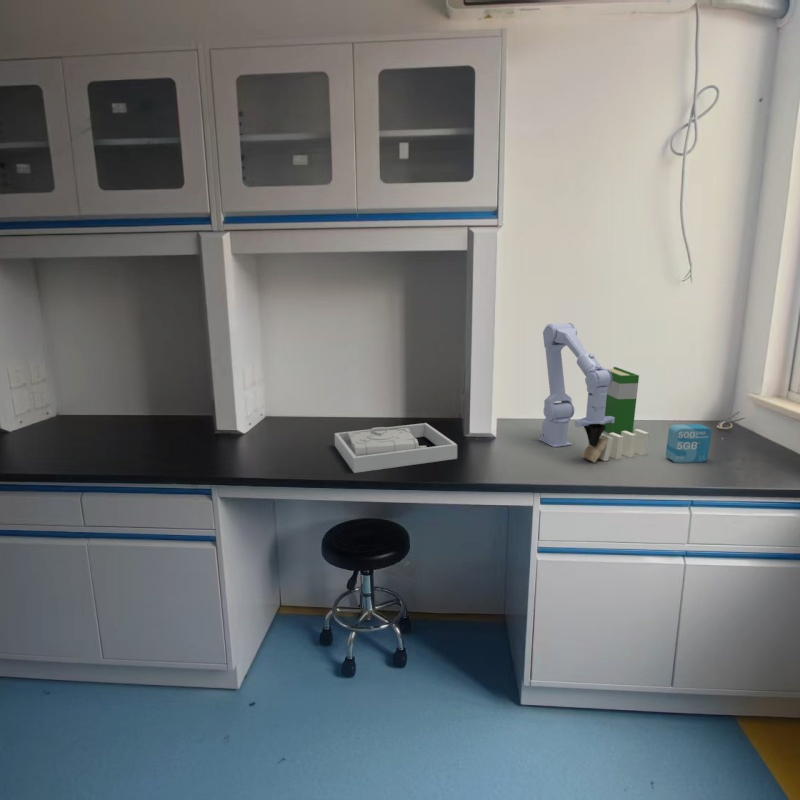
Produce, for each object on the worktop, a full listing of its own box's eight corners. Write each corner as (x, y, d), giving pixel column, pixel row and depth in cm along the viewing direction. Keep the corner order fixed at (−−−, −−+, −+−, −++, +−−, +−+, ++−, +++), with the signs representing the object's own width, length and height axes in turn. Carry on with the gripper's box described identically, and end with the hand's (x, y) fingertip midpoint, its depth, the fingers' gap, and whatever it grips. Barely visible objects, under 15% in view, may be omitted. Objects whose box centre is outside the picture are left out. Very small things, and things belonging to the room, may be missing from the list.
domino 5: (631, 451, 181) (633, 429, 180) (635, 450, 182) (638, 429, 180) (641, 455, 177) (644, 433, 175) (646, 454, 178) (649, 432, 176)
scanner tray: (335, 446, 188) (334, 433, 187) (426, 435, 200) (426, 423, 199) (354, 472, 163) (353, 458, 162) (457, 458, 175) (457, 444, 174)
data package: (671, 462, 170) (676, 428, 167) (664, 458, 175) (669, 424, 172) (707, 462, 171) (712, 428, 168) (699, 457, 175) (704, 424, 172)
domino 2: (593, 455, 176) (598, 433, 175) (598, 456, 177) (603, 434, 175) (603, 460, 172) (608, 437, 170) (608, 460, 172) (613, 438, 171)
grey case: (433, 458, 176) (434, 437, 175) (353, 465, 171) (352, 443, 169) (420, 441, 195) (420, 422, 193) (346, 447, 189) (346, 427, 187)
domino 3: (606, 454, 178) (608, 433, 176) (611, 454, 179) (613, 432, 177) (616, 459, 174) (618, 437, 172) (621, 458, 174) (623, 436, 172)
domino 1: (581, 455, 174) (594, 435, 174) (585, 458, 175) (597, 438, 175) (591, 460, 170) (604, 440, 170) (594, 463, 171) (607, 442, 170)
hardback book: (593, 423, 214) (598, 367, 208) (610, 423, 215) (615, 366, 209) (613, 436, 197) (620, 375, 191) (632, 436, 198) (639, 375, 192)
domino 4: (619, 453, 180) (621, 431, 178) (623, 452, 180) (625, 430, 178) (629, 457, 175) (631, 435, 173) (633, 456, 176) (636, 434, 174)
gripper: (586, 411, 162) (582, 451, 166) (622, 406, 167) (618, 446, 170) (571, 405, 169) (568, 444, 172) (607, 401, 173) (603, 439, 177)
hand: (592, 445), depth 172 cm, fingers closed
